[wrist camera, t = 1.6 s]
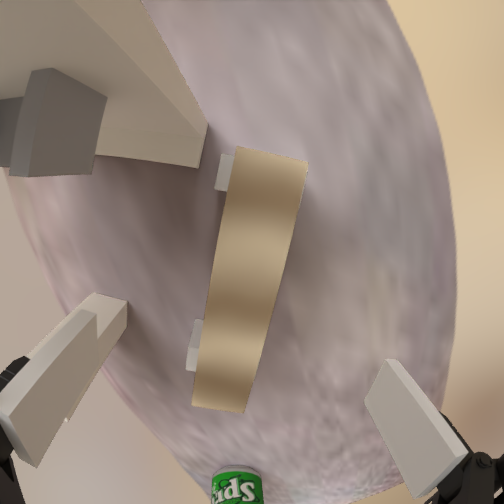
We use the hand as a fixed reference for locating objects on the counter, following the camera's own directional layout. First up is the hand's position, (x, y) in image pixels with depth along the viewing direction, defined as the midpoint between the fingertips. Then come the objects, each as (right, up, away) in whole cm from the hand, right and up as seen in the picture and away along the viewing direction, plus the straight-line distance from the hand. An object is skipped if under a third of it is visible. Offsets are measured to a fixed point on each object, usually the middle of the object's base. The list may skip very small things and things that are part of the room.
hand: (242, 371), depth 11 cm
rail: (-1, +3, +9) cm, 10 cm away
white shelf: (-12, +7, +13) cm, 19 cm away
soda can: (-2, -29, +23) cm, 37 cm away
